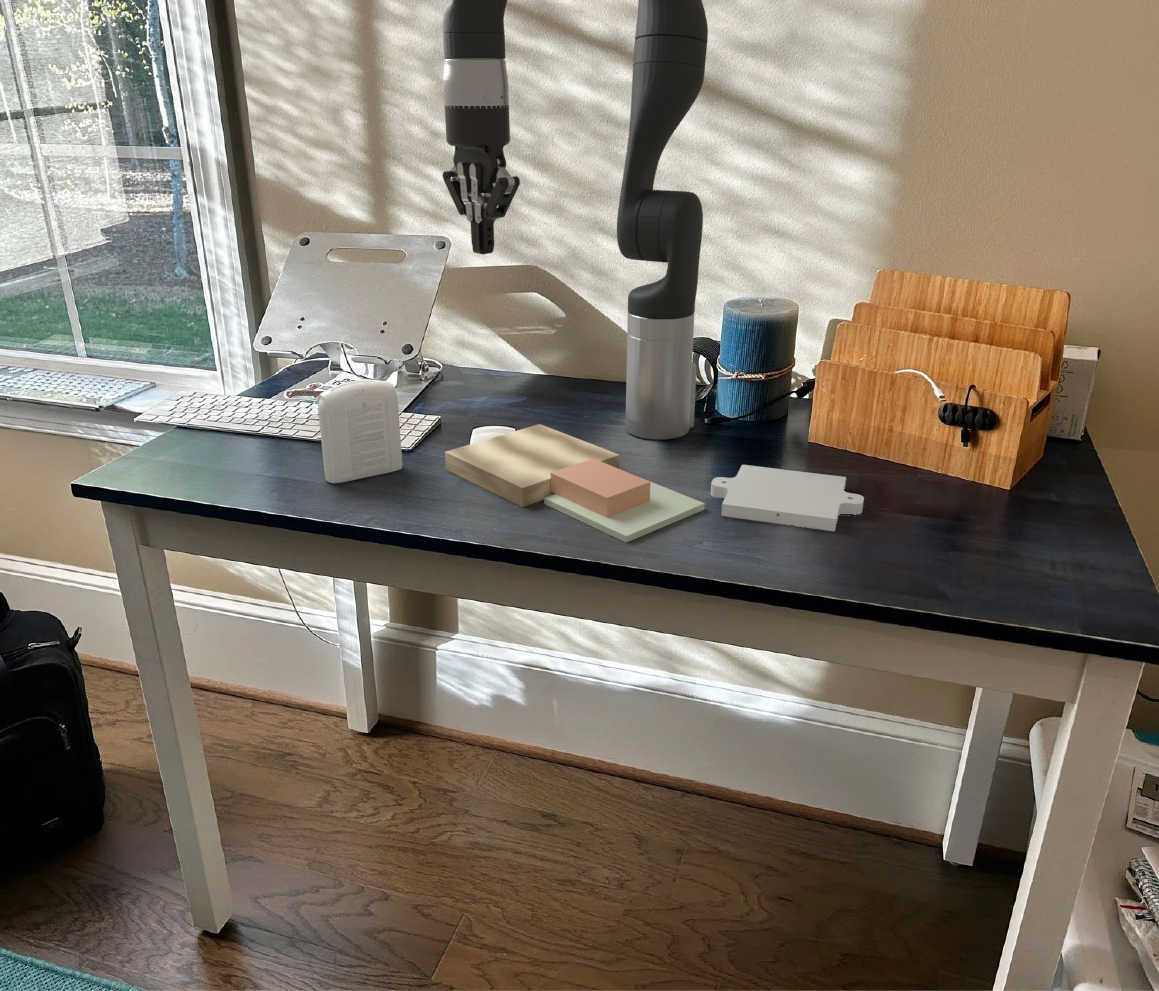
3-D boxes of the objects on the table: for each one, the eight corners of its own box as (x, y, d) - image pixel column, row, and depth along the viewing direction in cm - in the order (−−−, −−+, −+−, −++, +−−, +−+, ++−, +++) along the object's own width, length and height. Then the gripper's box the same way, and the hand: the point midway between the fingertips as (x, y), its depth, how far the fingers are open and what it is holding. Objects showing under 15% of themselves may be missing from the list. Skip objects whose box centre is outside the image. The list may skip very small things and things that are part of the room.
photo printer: (395, 460, 128) (387, 371, 123) (408, 470, 124) (401, 379, 119) (320, 477, 123) (309, 384, 118) (332, 488, 119) (321, 393, 114)
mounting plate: (699, 515, 112) (700, 501, 112) (721, 475, 124) (722, 462, 123) (857, 537, 107) (859, 522, 106) (865, 493, 118) (867, 479, 117)
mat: (621, 475, 122) (621, 470, 122) (704, 509, 113) (704, 503, 113) (544, 503, 115) (544, 497, 114) (626, 542, 105) (626, 536, 105)
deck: (539, 440, 134) (539, 423, 133) (619, 472, 123) (619, 454, 122) (445, 469, 125) (444, 451, 124) (522, 507, 114) (522, 488, 113)
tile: (593, 476, 120) (593, 458, 119) (649, 501, 113) (650, 481, 112) (550, 491, 116) (550, 472, 115) (606, 517, 109) (607, 497, 108)
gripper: (537, 102, 109) (540, 256, 116) (469, 100, 118) (475, 243, 125) (485, 103, 104) (491, 263, 111) (418, 101, 113) (427, 249, 120)
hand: (483, 252), depth 118 cm, fingers closed
